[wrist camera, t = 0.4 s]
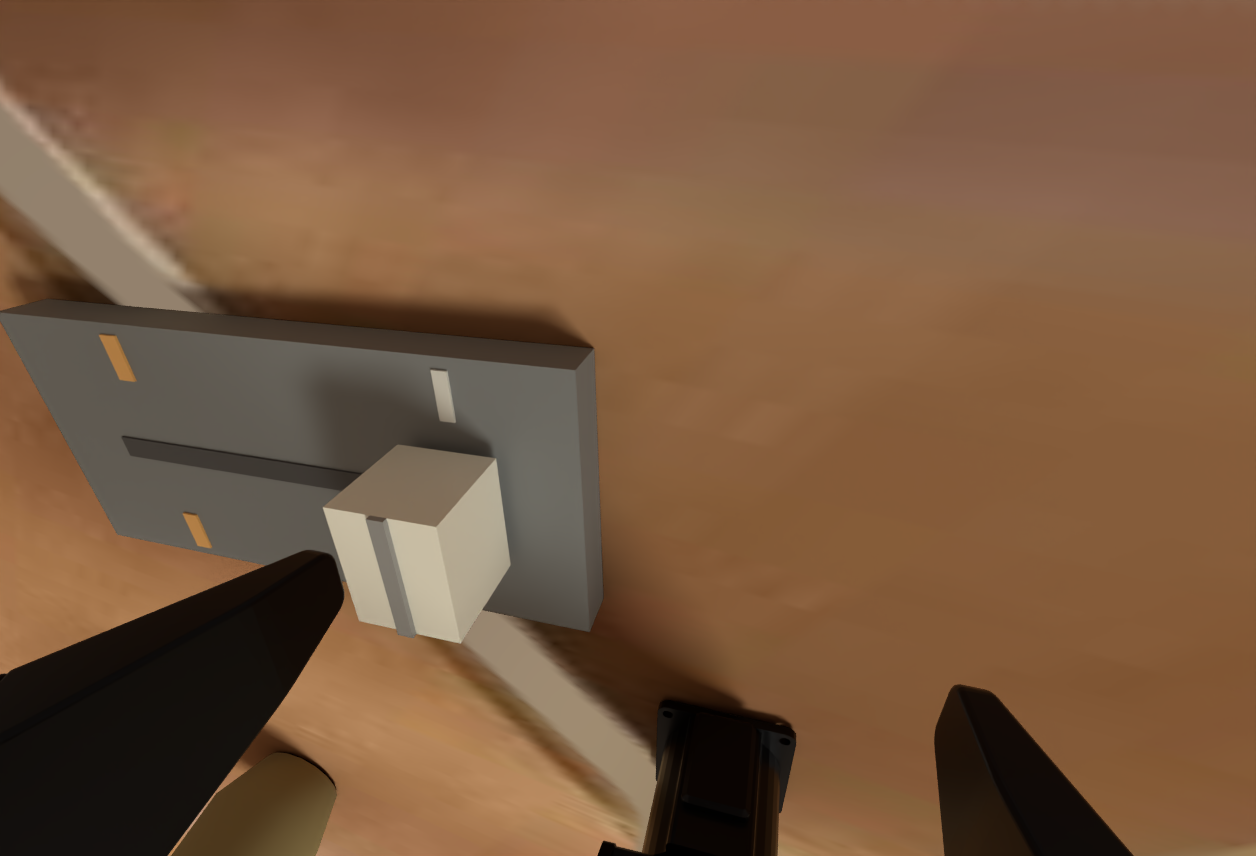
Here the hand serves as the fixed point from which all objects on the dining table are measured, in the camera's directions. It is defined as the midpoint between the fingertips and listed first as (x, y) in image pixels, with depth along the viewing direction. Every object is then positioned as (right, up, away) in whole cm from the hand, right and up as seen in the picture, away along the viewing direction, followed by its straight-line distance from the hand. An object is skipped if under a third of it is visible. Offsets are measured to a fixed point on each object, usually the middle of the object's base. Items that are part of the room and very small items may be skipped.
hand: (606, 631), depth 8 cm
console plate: (-13, +2, +18) cm, 23 cm away
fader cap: (-6, 0, +14) cm, 15 cm away
